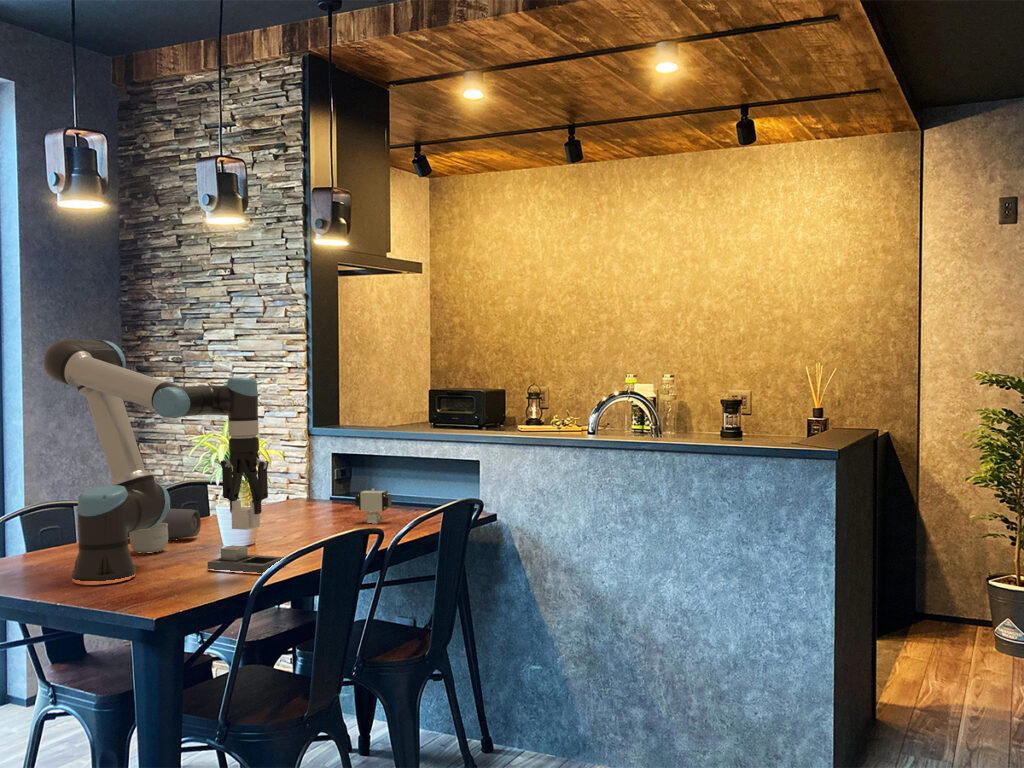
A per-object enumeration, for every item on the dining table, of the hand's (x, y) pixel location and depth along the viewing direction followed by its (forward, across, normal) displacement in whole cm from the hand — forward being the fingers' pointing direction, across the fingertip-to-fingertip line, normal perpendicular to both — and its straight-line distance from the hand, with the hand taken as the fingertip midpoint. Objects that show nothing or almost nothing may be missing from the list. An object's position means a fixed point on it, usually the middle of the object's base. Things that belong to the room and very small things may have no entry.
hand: (246, 525), depth 240 cm
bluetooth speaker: (+13, +57, -32) cm, 66 cm away
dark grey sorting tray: (+13, +5, -7) cm, 15 cm away
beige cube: (0, 0, 0) cm, 0 cm away
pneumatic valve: (+13, +8, -80) cm, 81 cm away
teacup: (+13, +47, -17) cm, 52 cm away
